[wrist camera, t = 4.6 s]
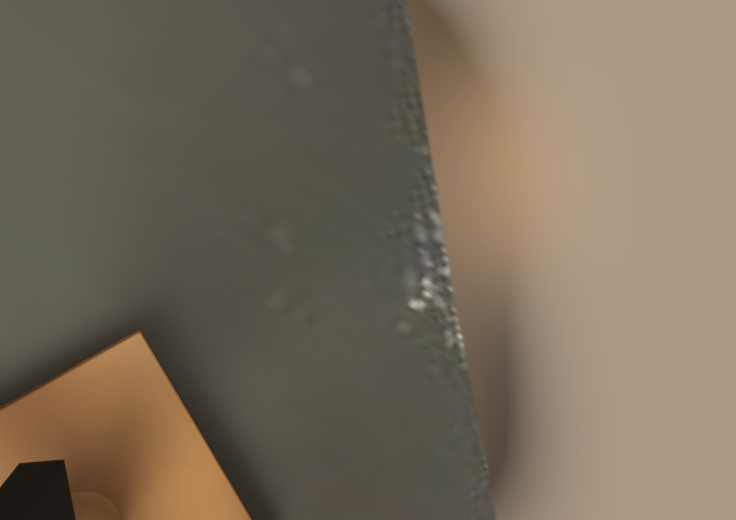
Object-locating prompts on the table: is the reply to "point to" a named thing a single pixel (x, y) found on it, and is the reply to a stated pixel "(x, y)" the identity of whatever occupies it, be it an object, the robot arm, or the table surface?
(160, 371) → the cup rack
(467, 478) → the table surface
